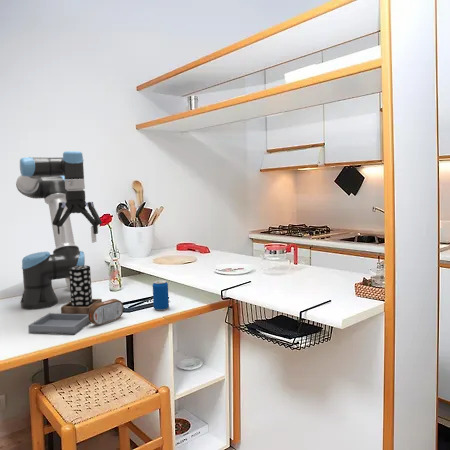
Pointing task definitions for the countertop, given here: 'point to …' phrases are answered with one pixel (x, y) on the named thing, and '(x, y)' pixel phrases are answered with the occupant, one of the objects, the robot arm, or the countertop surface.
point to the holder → (78, 308)
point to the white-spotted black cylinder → (80, 286)
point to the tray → (59, 324)
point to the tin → (106, 311)
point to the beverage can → (160, 295)
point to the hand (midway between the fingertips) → (78, 242)
